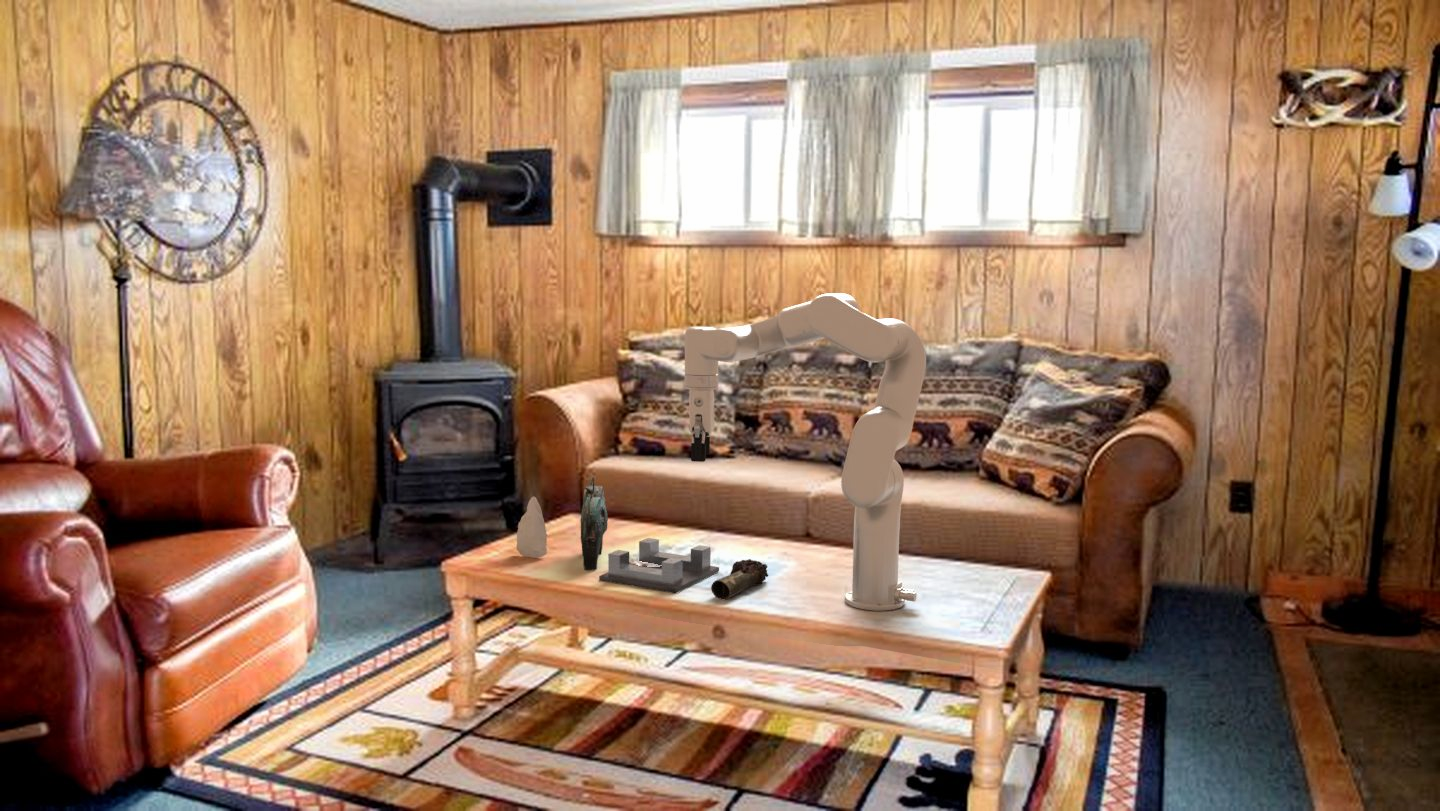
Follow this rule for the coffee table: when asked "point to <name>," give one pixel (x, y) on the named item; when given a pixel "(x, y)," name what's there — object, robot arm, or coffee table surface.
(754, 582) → the metal pipe
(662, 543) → the coffee table surface
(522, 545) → the stone tool
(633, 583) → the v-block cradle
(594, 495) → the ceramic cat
